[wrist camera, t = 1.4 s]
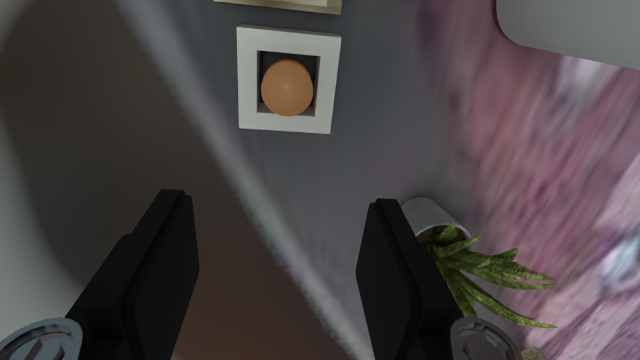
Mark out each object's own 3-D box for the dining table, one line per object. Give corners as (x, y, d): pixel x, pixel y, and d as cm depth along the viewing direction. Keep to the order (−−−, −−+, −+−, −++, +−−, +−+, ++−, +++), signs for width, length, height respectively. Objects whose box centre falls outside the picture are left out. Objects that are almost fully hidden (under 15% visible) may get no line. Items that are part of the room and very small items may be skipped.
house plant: (420, 280, 44) (482, 416, 30) (334, 245, 39) (359, 384, 25) (496, 203, 38) (617, 324, 24) (406, 152, 34) (489, 263, 20)
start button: (313, 60, 27) (315, 66, 24) (309, 107, 29) (310, 118, 26) (264, 55, 26) (261, 61, 24) (263, 103, 28) (260, 114, 26)
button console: (336, 33, 28) (341, 37, 25) (326, 122, 32) (329, 134, 29) (241, 24, 27) (236, 26, 24) (243, 116, 31) (239, 127, 28)
